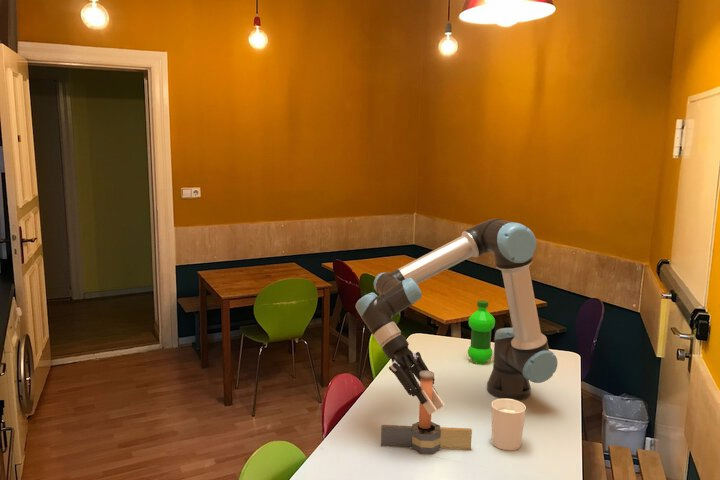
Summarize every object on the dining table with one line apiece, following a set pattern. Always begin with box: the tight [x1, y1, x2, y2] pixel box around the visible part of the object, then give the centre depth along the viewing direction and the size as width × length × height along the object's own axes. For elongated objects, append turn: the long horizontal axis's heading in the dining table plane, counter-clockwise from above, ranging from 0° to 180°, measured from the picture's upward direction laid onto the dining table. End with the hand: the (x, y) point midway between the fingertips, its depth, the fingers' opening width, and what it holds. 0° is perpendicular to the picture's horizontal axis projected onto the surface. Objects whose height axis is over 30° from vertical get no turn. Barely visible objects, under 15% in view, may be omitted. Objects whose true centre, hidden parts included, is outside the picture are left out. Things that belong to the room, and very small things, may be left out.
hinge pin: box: [418, 370, 435, 429], centre depth 169 cm, size 4×4×16 cm
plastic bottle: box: [467, 300, 496, 365], centre depth 238 cm, size 10×10×25 cm
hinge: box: [380, 421, 473, 455], centre depth 171 cm, size 26×8×6 cm, turn 87°
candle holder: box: [491, 398, 527, 451], centre depth 173 cm, size 10×10×12 cm
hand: (437, 409), depth 167 cm, fingers closed on hinge pin, 3 cm apart
